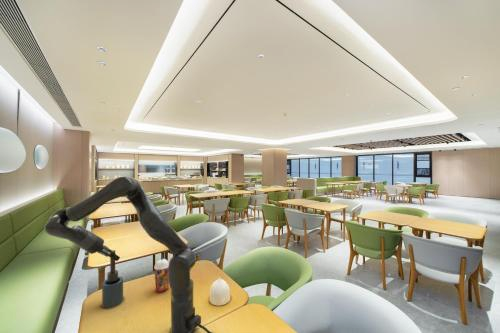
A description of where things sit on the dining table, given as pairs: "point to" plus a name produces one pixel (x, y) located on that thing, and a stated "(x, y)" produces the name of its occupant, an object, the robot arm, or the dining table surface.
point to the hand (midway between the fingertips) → (117, 258)
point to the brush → (112, 271)
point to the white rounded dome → (219, 292)
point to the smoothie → (161, 275)
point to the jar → (112, 293)
